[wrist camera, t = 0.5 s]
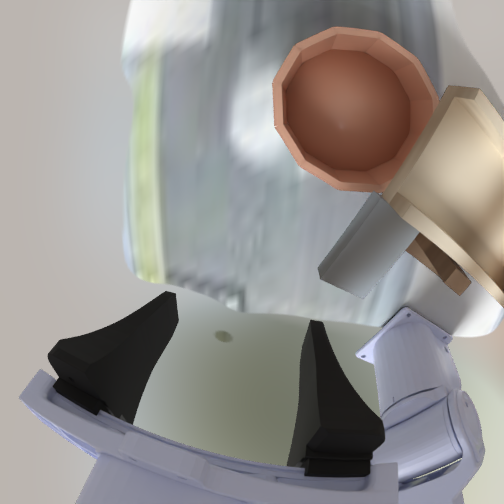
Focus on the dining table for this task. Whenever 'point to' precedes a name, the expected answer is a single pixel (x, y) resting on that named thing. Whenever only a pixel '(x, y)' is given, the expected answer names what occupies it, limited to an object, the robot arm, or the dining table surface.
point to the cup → (352, 106)
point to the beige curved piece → (435, 201)
